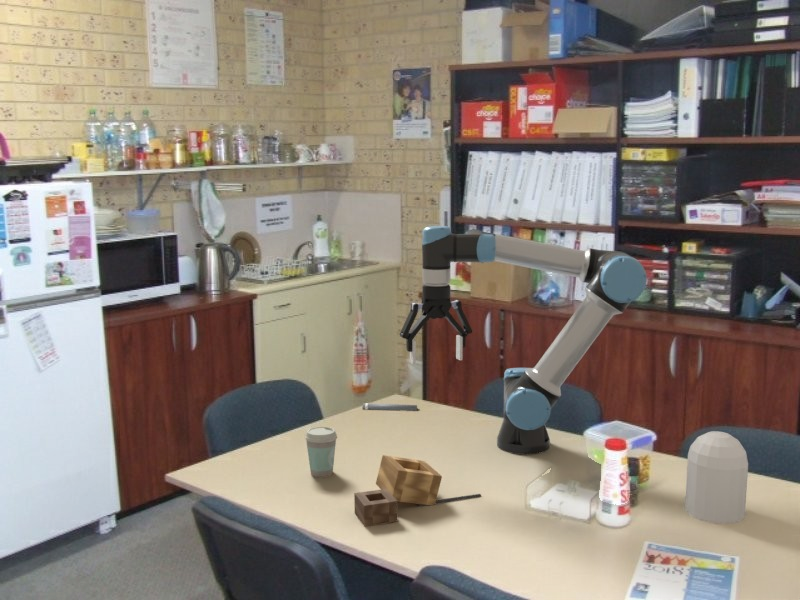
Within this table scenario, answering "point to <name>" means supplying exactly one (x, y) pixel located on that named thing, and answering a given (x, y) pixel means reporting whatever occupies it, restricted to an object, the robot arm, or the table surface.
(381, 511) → the bead dark
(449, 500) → the grey long thin rod
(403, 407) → the gray tube
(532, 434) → the robot arm
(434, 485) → the light wooden square box
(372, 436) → the table surface
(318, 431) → the coffee cup
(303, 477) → the table surface
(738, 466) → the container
